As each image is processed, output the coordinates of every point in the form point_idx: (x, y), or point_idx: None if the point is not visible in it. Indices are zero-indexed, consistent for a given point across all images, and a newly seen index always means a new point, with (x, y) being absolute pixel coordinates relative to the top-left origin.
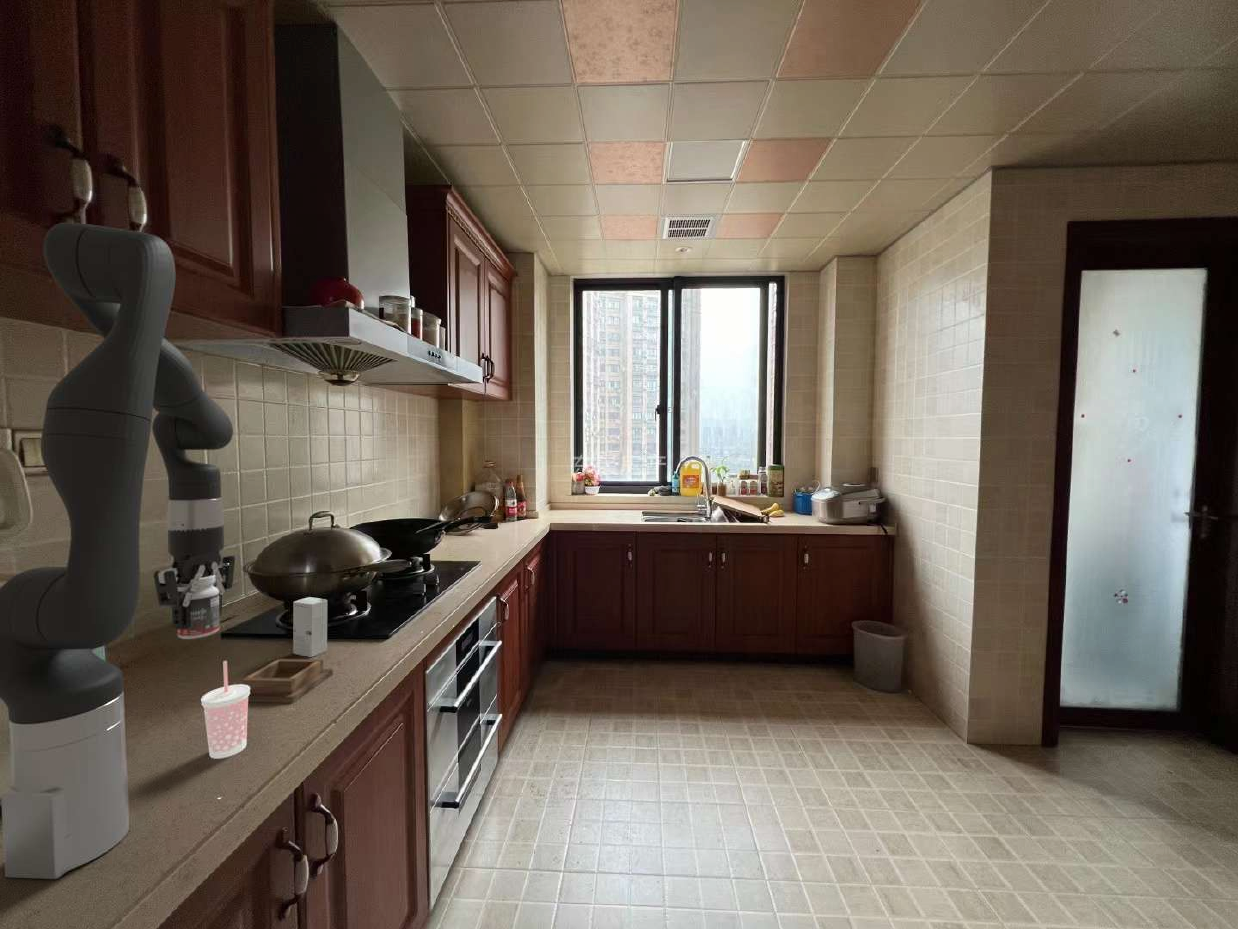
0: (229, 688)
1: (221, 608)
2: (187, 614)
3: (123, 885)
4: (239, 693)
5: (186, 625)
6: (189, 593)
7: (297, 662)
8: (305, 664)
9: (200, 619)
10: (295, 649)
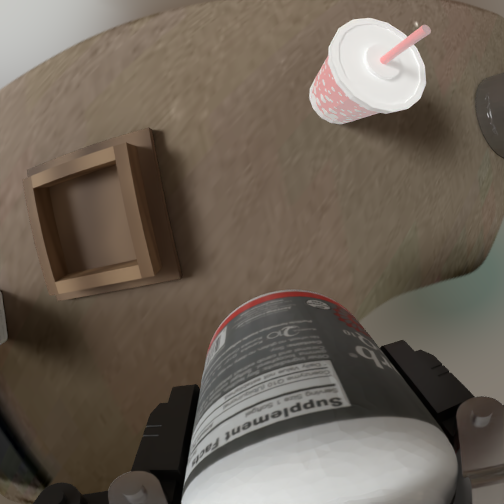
0: (356, 78)
1: (153, 417)
2: (432, 375)
3: (499, 34)
4: (369, 33)
5: (407, 345)
6: (494, 468)
7: (43, 234)
8: (41, 213)
9: (364, 336)
10: (1, 336)
